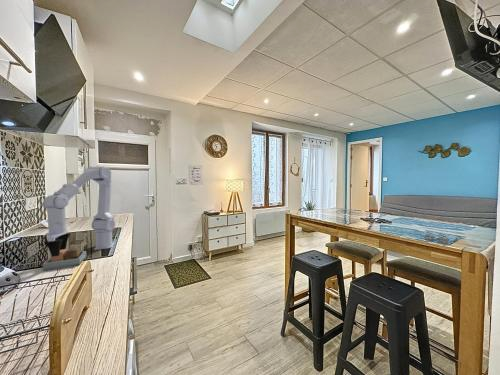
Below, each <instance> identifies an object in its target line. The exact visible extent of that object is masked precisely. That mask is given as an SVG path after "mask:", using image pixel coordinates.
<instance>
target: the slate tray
mask: <svg viewBox="0 0 500 375" xmlns="http://www.w3.org/2000/svg"><path fill="white" fill-rule="evenodd" d="M86 258H87V250H82V251H81V250H80V257H79V258H78V259H71V260H64V261H57V262H51V257H49V258H48V259H47V260H46V261H45V262H43V263H42V271H43V272H44V271H50V270H57V269H63V268H69V267H71V268H72V267H76V266H77V267H78V266H81V264H83V262H84V261H85V259H86ZM83 260H84V261H83ZM82 261H83V262H82Z"/></svg>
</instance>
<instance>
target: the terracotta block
mask: <svg viewBox="0 0 500 375" xmlns="http://www.w3.org/2000/svg"><path fill="white" fill-rule="evenodd" d="M66 251H67V249H63V250H60V253H59V256H54V257H52V255H51V254H50V258H51V262H57V261H64V260H66Z"/></svg>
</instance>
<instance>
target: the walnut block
mask: <svg viewBox="0 0 500 375" xmlns="http://www.w3.org/2000/svg"><path fill="white" fill-rule="evenodd" d="M80 252H81V247H73V248H71V247H70V248H68V249H66V260H71V259H78V258H79V257H80Z"/></svg>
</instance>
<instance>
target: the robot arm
mask: <svg viewBox="0 0 500 375" xmlns="http://www.w3.org/2000/svg"><path fill="white" fill-rule="evenodd" d="M91 180H92V181H94V182H95V183H97V184H98V186H99V189H98V203H97V213H96V215H94V216H93V219H92V222H91V225H90V226H91V229H92V230H94V233H95V248H93V250H94V251H97V250H98V251H99V250H104V249H105V250H106V249H112V248H113V246H114V245H115V242H114V241H113V230H114V228H115V226H116V222H115V216H114V215H113V214H111V198H112V197H111V196H112V170H110V168H109V167H108V166H104V165H103V166H88V167H87V168H85V169H84V170H83V173H81V174H80V175H79V176H78V177H77V178H76V179H74V181H72V182H70V183H69V182H68V183H64V184H62V187H61V188H59V189H58V190H57V191H54V192H53V194H51V195H47V196H46V197H45V199H44V200H43V202H42V205H43V207H44V208H45V210H46V211H45V212H46V214H47V225H48V230H47V231H48V232H46V233H45V234H44V236H47V240H44V241H43V242H44V243H43V244H44V245H45V246H46V247H47V248H48V250H49V252H50V256H51V255H52V257H54V256H59V253H60V250H63V249H66V248H67V244H68V241H69V238H70V235H71V232H70V233H69V232H68V231H67V221H66V220H67V219H66V207H67V206H68V205H69V201H70V200H71V199H72V198H73V197H75V196H76V195H77V194H79V192H80V190H79V189H80V188H81V187H83V186H84V185H85V184H86V183H88V182H90V181H91ZM66 250H67V249H66Z"/></svg>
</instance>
